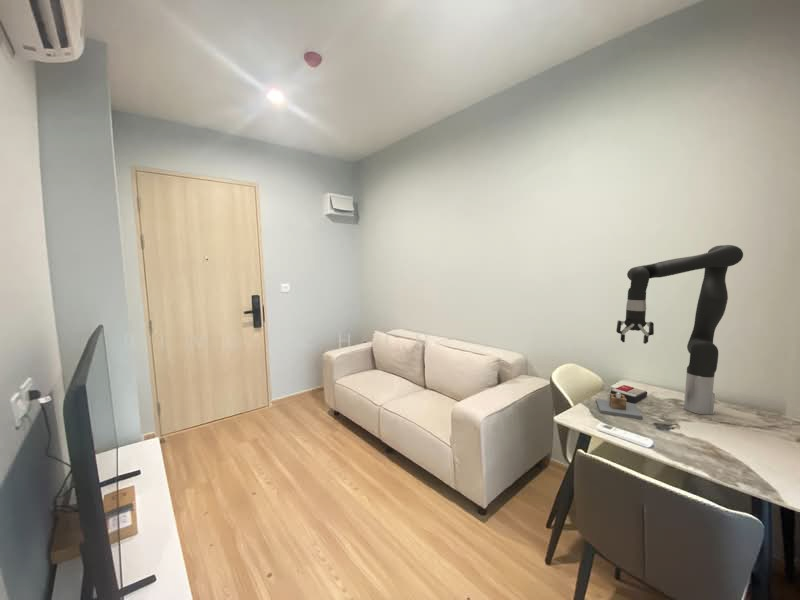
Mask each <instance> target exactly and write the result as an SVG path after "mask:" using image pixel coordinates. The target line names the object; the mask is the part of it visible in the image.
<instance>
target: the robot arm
mask: <svg viewBox="0 0 800 600" xmlns="http://www.w3.org/2000/svg"><path fill="white" fill-rule="evenodd" d="M743 258H744V252H743V250H742V248H740V247H739V246H736V245H731V244H724V245H715V246H713V247H711V248H710V249H709V250H708V251H707V252H704V253H702V254H697V255H692V256H684V257H678V258H672V259H666V260H663V261H662V260H661V261H658V262H656V263H651V264H644V265H639V266H633V267H632V268H630V269H629V270H628V271H627V273H626V275H627V278H628V279H629V281H630V287H629V288H628V290H627V299H626V305H625V309H626V310H625V320H620V319H619V320H617V321H616V322H617V323H616V330H615V331H616V333H617V334H620V341H621V342H622V343H625V342H626V333H627V332H628V331H637V332H640V331H641V332H642V333H643V344H644V345H646V344H647V343H649V336H654V333H655V326H654V322H652V321H649V322H648V321H646V315H647V289H648V286H649V283H650V279H654V278H655V279H656V278H659V279H660V278H664V277H665V278H666V277H669V276H674V275H679V274H684V273H687V272H692V271H696V270H702V269H704V273H703V279H702V283H701V288H700V292H699V295H698V300H697V304H696V310H695V315H694V324H693V328H692V332H691V335H690V337H689V339H688V341H687V345H686V349H687V351H688V353H689V360H688V361H689V362H688V366H687V367H686V376H685V389H684V391H685V392H684V402H683V408H684V409H685V410H686V411H688V412H690V413H695V414H699V415H707V416H708V415H714V408H715V398H716V395H715V393H714V387H715V386H714V385H715V373H716V371H717V368H718V363H719V362H718V361H719V349H718V347H717V345H716V344H715V343H714V337H715V331H716V328H717V326H718V325H719V323H720V322H721V320H722V318H723V316H724V315H725V313H726V312H725V311H726V309H727V304H728V300H729V299H728V298H729V295H728V289H727V283H726V275H727V272H728V268H729V267H733V266H735V265H737V264H738V263H740V262H741V261H742V260H743ZM623 325H625V327H624V328H623V329H621V328H622V326H623ZM646 326H647V327H648V331H646V329H645V328H644V327H646Z"/></svg>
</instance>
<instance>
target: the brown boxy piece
mask: <svg viewBox="0 0 800 600" xmlns="http://www.w3.org/2000/svg"><path fill="white" fill-rule="evenodd" d="M608 400H609V404H610V406H611V408H613V409H620V410H626V403H627V402H626V401H627V400H626V398H625V396H624V395H621V398H616V394H611V392H609V399H608Z"/></svg>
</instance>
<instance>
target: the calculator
mask: <svg viewBox="0 0 800 600" xmlns="http://www.w3.org/2000/svg"><path fill="white" fill-rule="evenodd" d="M617 392H619V393H621V395H624V396H625V398H626V400H627V401H626V403H634V404H635V405H637V403H639V402H640V401H643V400H645V399H646V398H648V391H646V389H641V388H637V387H633V386H629V385H625V384H624V385H621V386H618V387H616V388H613V389H611V390H610V393H611V394H616V393H617Z"/></svg>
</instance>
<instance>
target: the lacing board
mask: <svg viewBox="0 0 800 600" xmlns="http://www.w3.org/2000/svg"><path fill="white" fill-rule="evenodd" d="M596 403H597V404H596ZM595 404H596V407H597V409H598V411H599V412H598V413H599V414H603V415H609V416H616V417H623V418H630V419H635V420H636V419H637V420H643V419H644V416H643V414H642V412H641V411H640V409H639V408H638V406H637V404H634V403H629V402H626V410H620V409H613V408H611V406H610V404H609V399H605V398H604V399H603V398H595Z"/></svg>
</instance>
